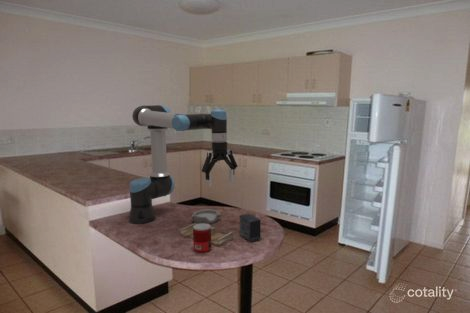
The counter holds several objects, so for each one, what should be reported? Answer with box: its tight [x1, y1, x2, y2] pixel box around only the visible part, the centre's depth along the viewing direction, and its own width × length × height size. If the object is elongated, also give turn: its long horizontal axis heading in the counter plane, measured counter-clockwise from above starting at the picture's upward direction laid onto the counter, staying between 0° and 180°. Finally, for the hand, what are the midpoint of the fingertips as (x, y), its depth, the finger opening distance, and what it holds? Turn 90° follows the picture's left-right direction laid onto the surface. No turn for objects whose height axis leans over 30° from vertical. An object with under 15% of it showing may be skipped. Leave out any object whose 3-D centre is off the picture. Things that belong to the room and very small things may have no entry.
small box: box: [239, 213, 261, 243], centre depth 161 cm, size 11×6×10 cm, turn 28°
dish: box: [191, 208, 221, 225], centre depth 186 cm, size 14×14×5 cm
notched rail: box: [180, 222, 234, 248], centre depth 162 cm, size 24×11×4 cm, turn 56°
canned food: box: [192, 223, 212, 254], centre depth 149 cm, size 8×8×11 cm
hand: (220, 183), depth 165 cm, fingers open, 13 cm apart
